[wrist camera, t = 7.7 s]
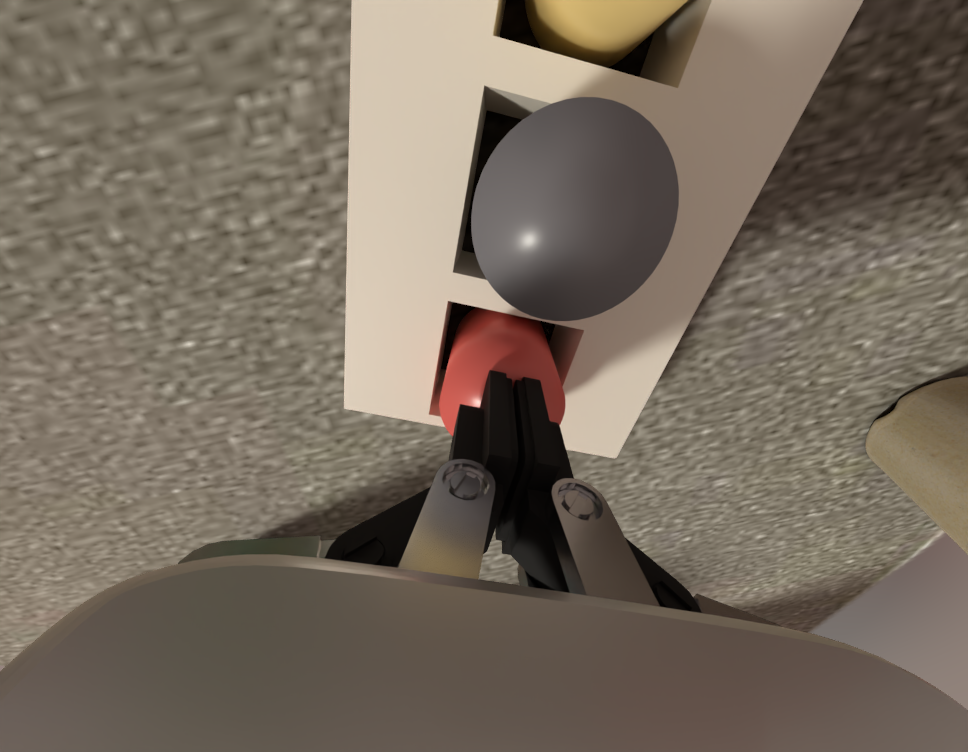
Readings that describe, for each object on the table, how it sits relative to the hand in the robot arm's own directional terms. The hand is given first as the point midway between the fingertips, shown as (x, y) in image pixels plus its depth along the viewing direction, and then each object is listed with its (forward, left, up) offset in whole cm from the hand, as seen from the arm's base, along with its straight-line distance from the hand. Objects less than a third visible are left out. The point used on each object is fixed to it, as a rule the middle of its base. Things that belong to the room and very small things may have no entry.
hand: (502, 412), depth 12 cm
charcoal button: (0, -6, -3) cm, 7 cm away
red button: (0, 0, -5) cm, 5 cm away
